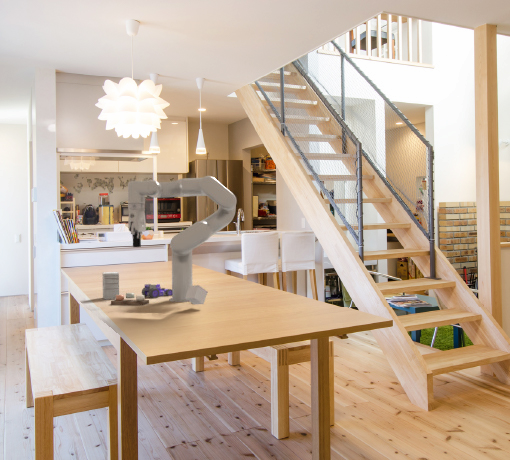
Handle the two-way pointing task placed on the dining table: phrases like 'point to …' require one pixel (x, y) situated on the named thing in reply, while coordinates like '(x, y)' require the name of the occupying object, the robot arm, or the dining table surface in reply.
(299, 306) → the dining table surface
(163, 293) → the toy race car
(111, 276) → the supplement box
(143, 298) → the cream button
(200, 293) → the gray cube
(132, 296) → the sage button
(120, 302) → the button plate
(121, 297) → the terracotta button
